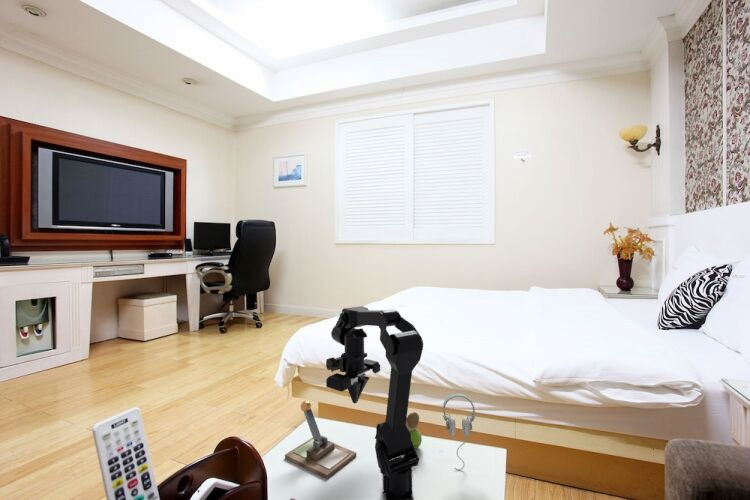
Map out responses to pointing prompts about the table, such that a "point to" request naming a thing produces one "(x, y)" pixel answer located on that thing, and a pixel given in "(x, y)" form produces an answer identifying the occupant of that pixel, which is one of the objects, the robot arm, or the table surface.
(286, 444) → the table surface
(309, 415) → the toggle lever
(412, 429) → the snail figurine
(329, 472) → the switch base
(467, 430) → the headphones
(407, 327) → the robot arm
